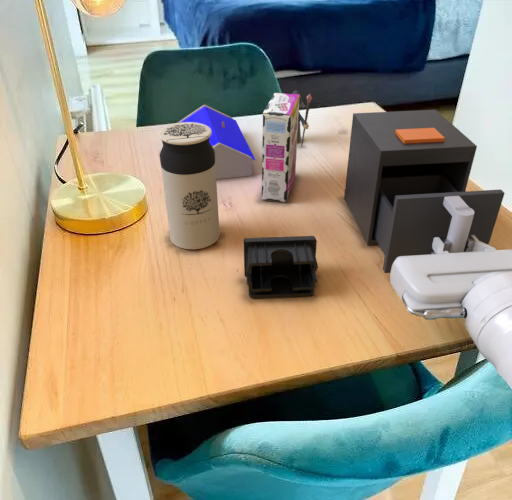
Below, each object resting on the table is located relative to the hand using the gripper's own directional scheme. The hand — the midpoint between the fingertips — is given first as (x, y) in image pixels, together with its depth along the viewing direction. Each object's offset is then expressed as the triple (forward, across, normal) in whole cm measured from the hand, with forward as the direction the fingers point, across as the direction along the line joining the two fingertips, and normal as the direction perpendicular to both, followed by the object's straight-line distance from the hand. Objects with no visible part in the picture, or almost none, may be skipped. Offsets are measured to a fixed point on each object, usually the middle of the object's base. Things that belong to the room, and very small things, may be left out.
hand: (452, 240), depth 66 cm
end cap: (+4, -22, -9) cm, 24 cm away
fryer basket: (+8, 0, -7) cm, 10 cm away
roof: (+48, -30, -9) cm, 57 cm away
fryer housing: (+19, 0, -9) cm, 21 cm away
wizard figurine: (+53, -11, -9) cm, 55 cm away
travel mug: (+17, -34, -9) cm, 39 cm away
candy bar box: (+32, -18, -9) cm, 38 cm away
